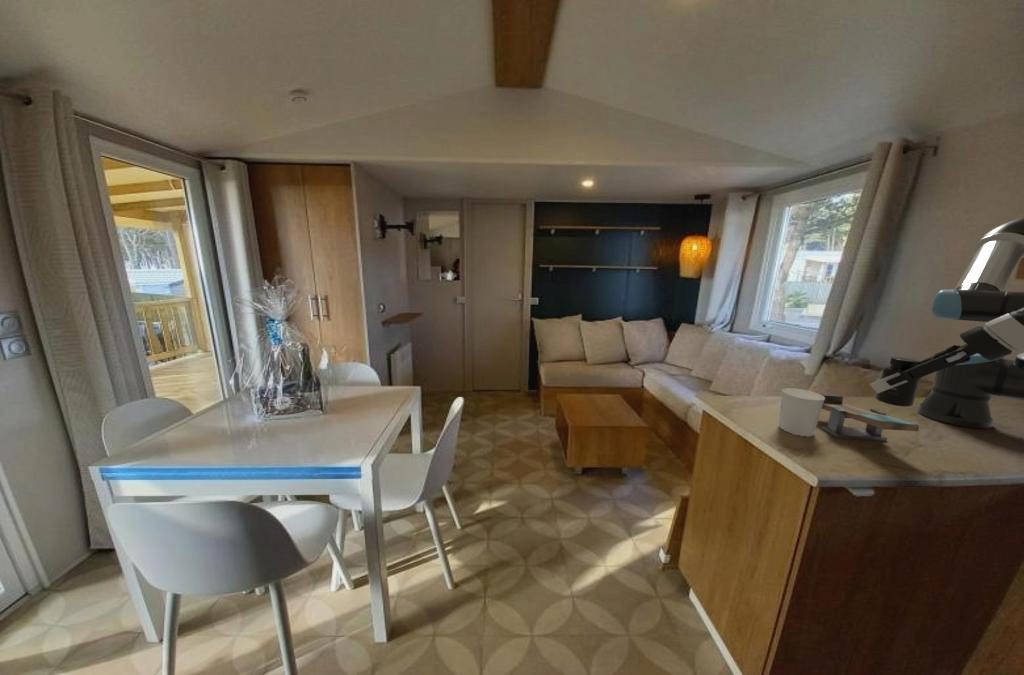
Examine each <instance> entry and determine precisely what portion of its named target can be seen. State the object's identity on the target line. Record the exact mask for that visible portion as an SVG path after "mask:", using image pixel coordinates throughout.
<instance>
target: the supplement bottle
mask: <svg viewBox="0 0 1024 675" xmlns="http://www.w3.org/2000/svg"><path fill="white" fill-rule="evenodd" d="M919 361H920V360H916V359H913V358H907V357H901V356H900V357H899V356H892V357H890V361H889V362H888V363H889V364H888V366H885V367H884V368H882V369H881V373H880V376H879V378H880V380H881V379H883V378H886V377H888V376H891V375H893V374H896V373H898V372H897V370H901V371H905V370H908V369H910V368H912V367H915V366H917V365H918V364H919ZM910 374H911V373H910ZM911 375H912V374H911ZM912 376H913V375H912ZM921 378H922V377H921ZM921 378H918V379H916V380H915V381H909V382H906V383H904V384H901V385H898V386H896V387H893V388H891V389H888V390H885V391H883V392H880V393H877V392H876V391H875V396H874V398H875V399H876V400H877V401H879V402H881V403H885V404H888V405H892V406H897V407H905V408H907V407H909V408H910V407H912V406H913V405H914V403H915V401H916V400H915V399H916V396H917V392H918V388H919V386H920V384H921V383H920V382H921Z"/></svg>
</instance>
